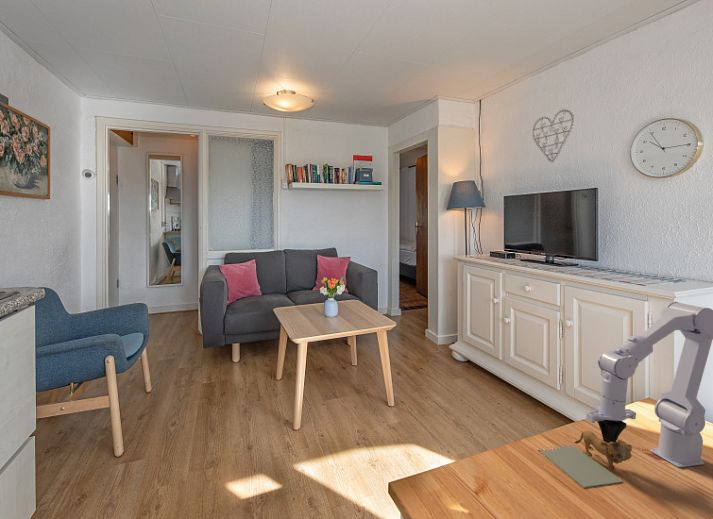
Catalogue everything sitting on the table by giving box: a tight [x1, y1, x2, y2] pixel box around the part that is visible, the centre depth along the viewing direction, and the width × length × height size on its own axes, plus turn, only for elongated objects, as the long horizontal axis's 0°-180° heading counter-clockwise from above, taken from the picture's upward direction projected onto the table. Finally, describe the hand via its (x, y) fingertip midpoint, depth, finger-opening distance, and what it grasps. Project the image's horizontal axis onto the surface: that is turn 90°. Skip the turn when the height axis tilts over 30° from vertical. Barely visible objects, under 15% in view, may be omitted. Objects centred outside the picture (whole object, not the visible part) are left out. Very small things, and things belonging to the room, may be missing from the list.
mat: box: [539, 444, 624, 489], centre depth 99 cm, size 12×16×1 cm
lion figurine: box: [574, 430, 633, 472], centre depth 99 cm, size 15×5×9 cm, turn 33°
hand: (608, 444), depth 101 cm, fingers closed
